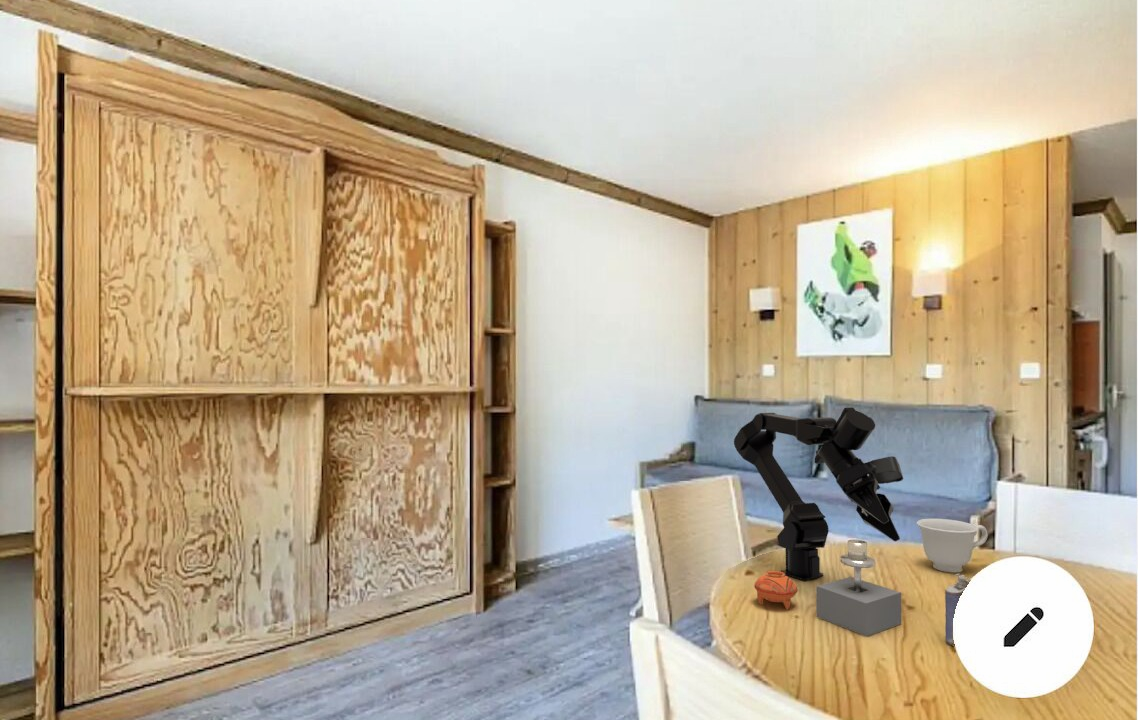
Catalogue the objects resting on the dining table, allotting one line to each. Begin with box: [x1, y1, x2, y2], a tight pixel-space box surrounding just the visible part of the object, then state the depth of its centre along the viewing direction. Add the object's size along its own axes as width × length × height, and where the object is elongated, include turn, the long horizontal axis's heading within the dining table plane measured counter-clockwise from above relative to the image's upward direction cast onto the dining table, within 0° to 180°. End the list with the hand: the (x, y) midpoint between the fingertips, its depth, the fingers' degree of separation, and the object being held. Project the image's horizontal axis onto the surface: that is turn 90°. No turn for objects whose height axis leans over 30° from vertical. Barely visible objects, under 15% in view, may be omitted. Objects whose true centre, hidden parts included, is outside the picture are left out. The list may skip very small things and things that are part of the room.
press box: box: [815, 576, 902, 637], centre depth 112 cm, size 10×10×6 cm
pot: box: [753, 570, 798, 610], centre depth 120 cm, size 8×8×7 cm
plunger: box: [840, 539, 876, 593], centre depth 112 cm, size 7×7×10 cm
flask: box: [944, 573, 971, 648], centre depth 104 cm, size 9×3×11 cm, turn 121°
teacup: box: [916, 518, 988, 574], centre depth 141 cm, size 12×15×10 cm
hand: (892, 531), depth 113 cm, fingers open, 9 cm apart
